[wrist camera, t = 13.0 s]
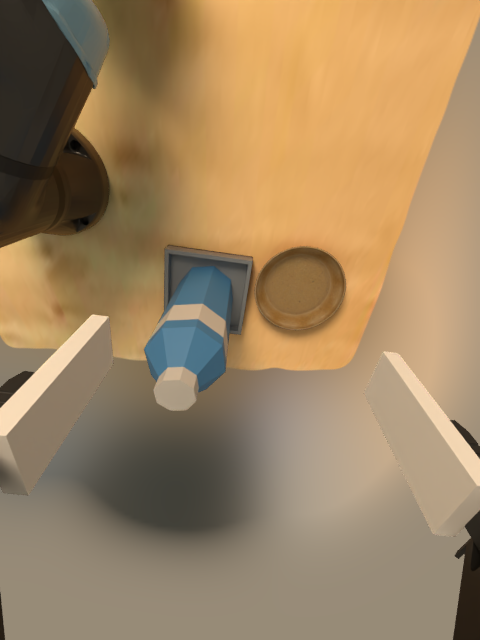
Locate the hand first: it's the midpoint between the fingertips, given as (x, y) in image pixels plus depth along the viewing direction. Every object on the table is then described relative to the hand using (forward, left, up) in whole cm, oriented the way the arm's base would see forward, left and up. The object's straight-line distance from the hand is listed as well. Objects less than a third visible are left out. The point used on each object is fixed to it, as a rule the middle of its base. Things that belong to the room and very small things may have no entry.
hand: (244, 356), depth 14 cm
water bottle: (-5, -12, -34) cm, 37 cm away
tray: (-5, -12, -35) cm, 37 cm away
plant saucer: (+10, -9, -35) cm, 38 cm away
